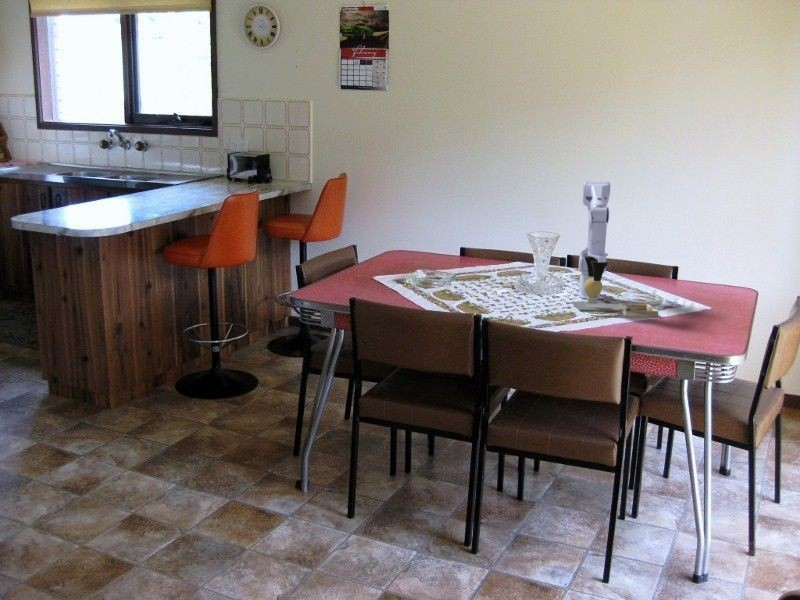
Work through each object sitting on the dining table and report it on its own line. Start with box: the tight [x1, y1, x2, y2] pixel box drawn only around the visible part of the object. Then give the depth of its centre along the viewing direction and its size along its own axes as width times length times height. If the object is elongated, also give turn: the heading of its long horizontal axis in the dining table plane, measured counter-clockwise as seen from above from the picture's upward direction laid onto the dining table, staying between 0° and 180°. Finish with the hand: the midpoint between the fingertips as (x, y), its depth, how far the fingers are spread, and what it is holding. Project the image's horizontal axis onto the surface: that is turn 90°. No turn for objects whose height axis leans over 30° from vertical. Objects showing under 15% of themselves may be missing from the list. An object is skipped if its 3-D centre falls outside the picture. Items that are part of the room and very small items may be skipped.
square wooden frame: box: [617, 303, 659, 318], centre depth 297 cm, size 11×11×2 cm
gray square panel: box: [571, 301, 614, 312], centre depth 305 cm, size 12×12×1 cm
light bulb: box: [584, 278, 603, 303], centre depth 303 cm, size 6×6×10 cm
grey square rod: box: [585, 303, 632, 310], centre depth 293 cm, size 15×2×2 cm, turn 82°
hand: (594, 278), depth 302 cm, fingers open, 7 cm apart
